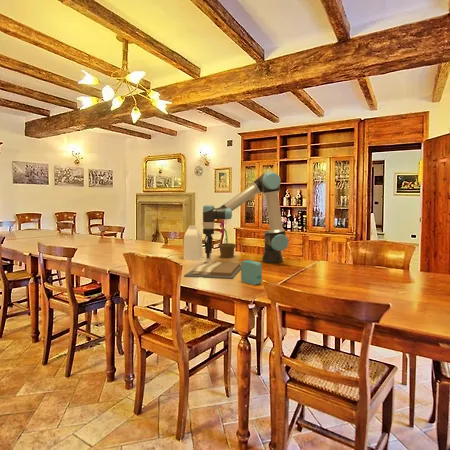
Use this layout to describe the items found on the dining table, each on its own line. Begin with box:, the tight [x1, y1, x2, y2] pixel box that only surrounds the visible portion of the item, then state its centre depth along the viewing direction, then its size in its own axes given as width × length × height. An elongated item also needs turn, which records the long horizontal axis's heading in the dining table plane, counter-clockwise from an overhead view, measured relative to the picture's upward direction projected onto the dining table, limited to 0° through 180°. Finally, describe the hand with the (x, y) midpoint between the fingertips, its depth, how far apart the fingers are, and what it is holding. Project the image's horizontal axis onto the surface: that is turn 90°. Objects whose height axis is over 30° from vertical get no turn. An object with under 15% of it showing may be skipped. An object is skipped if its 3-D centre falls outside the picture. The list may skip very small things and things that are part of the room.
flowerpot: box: [217, 219, 237, 259], centre depth 265 cm, size 14×14×30 cm
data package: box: [240, 259, 263, 286], centre depth 186 cm, size 12×4×12 cm, turn 41°
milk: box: [183, 225, 204, 261], centre depth 261 cm, size 12×12×26 cm
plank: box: [192, 261, 223, 275], centre depth 217 cm, size 12×30×2 cm, turn 167°
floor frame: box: [184, 262, 241, 280], centre depth 216 cm, size 30×35×3 cm
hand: (208, 262), depth 227 cm, fingers closed
